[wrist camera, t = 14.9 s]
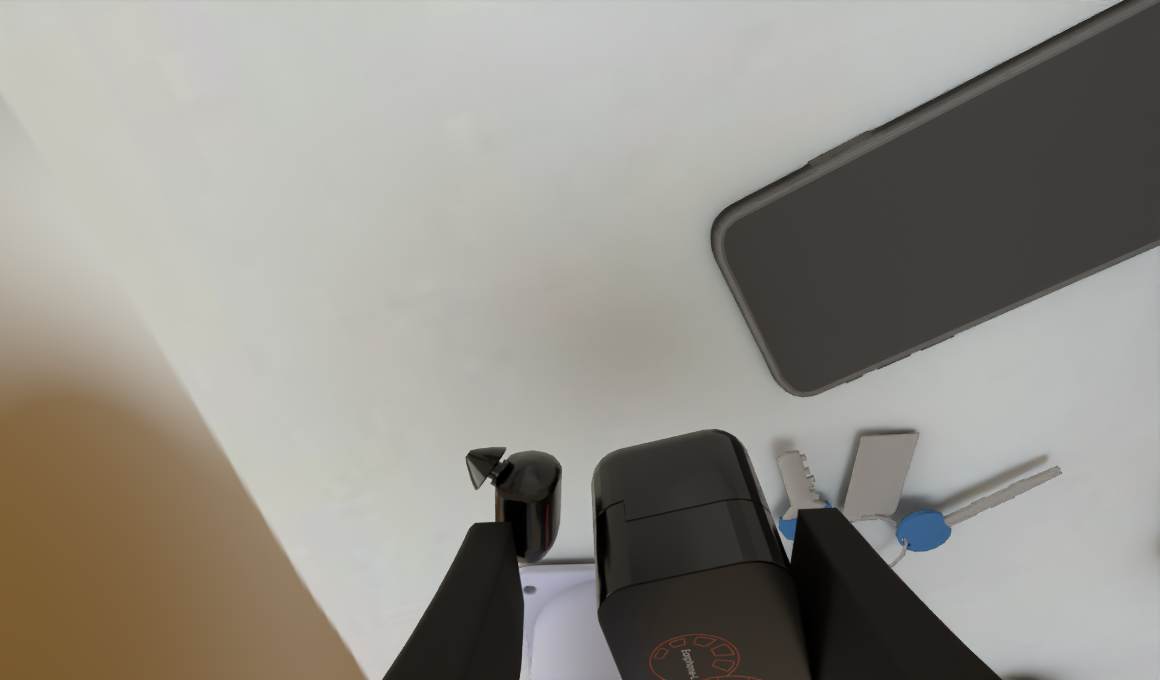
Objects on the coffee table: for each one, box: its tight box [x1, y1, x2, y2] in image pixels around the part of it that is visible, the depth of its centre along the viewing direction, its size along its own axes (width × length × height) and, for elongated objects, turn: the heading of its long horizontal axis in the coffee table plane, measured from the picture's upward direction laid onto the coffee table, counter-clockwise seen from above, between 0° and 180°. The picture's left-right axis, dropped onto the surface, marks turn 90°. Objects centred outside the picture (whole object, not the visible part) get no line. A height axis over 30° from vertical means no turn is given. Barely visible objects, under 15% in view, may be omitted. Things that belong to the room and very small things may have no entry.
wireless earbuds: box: [465, 429, 813, 680], centre depth 11 cm, size 5×7×3 cm, turn 16°
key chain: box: [777, 433, 1062, 567], centre depth 24 cm, size 14×8×1 cm, turn 140°
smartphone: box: [711, 0, 1160, 397], centre depth 18 cm, size 7×1×15 cm
